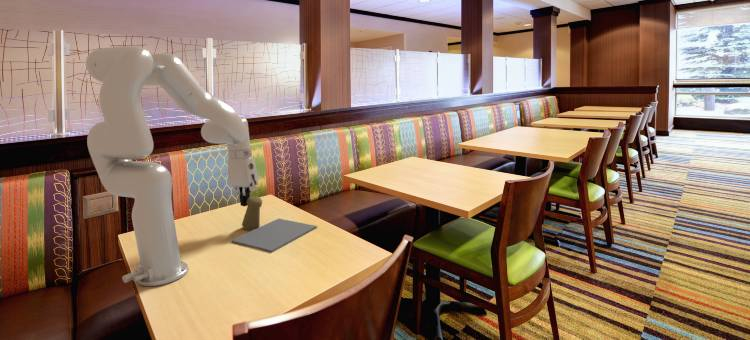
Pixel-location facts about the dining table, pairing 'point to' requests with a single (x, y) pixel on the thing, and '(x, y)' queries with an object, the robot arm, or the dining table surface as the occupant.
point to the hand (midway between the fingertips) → (245, 205)
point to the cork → (252, 213)
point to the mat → (274, 235)
